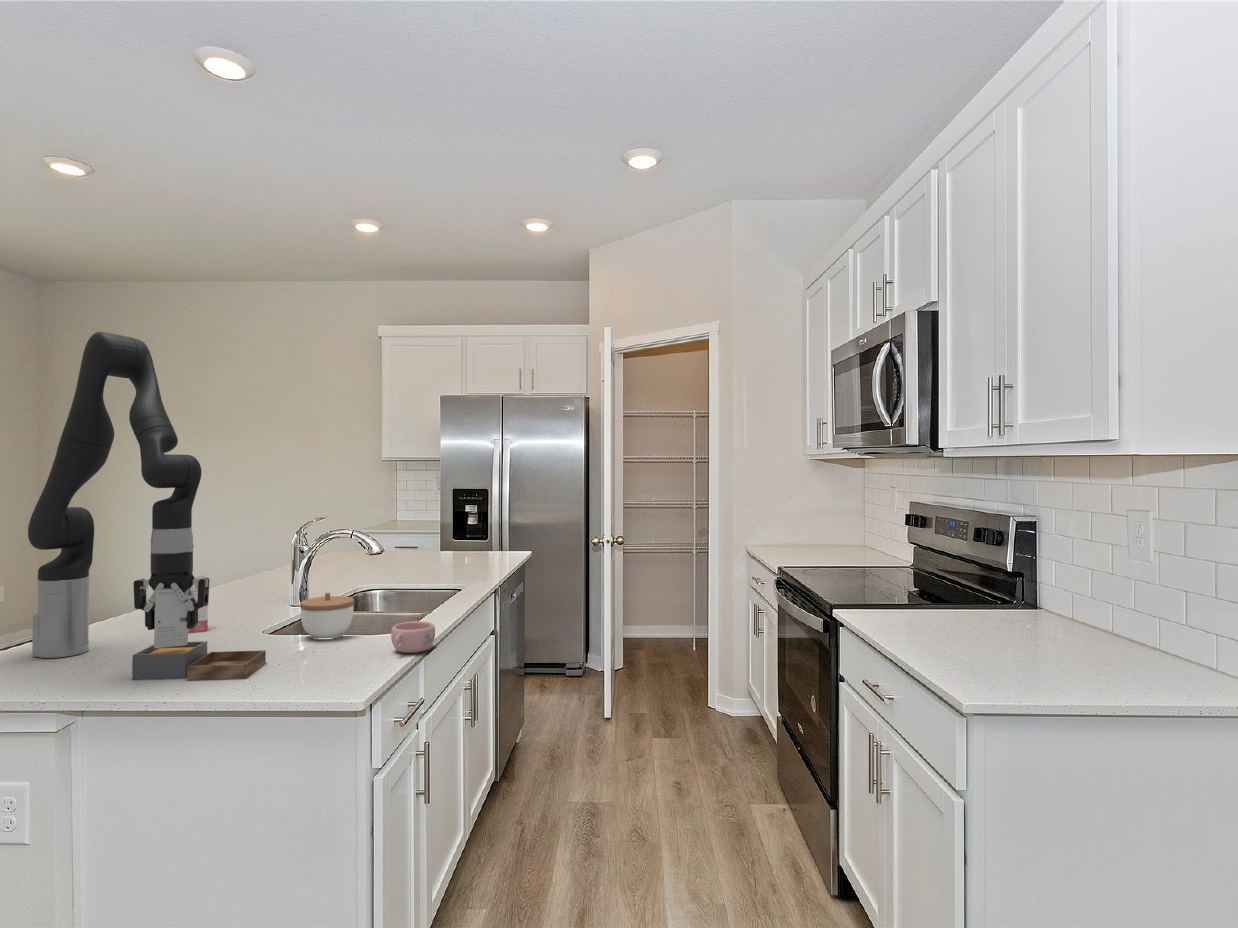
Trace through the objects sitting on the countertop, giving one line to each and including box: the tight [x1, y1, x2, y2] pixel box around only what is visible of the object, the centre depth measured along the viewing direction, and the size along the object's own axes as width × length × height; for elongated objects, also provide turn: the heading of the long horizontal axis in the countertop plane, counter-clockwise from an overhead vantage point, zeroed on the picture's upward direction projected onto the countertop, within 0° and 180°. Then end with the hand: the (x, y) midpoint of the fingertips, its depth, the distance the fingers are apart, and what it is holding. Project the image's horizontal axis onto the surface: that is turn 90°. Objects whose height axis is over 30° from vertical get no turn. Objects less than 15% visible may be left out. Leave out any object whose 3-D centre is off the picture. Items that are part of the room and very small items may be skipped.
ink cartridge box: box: [188, 574, 209, 634], centre depth 184 cm, size 9×5×15 cm, turn 118°
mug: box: [390, 620, 436, 654], centre depth 166 cm, size 12×10×6 cm
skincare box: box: [153, 588, 189, 649], centre depth 148 cm, size 6×4×12 cm
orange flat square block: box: [149, 647, 194, 654], centre depth 148 cm, size 8×8×2 cm
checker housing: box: [131, 640, 208, 681], centre depth 148 cm, size 10×10×5 cm
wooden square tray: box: [186, 649, 267, 681], centre depth 149 cm, size 11×11×3 cm
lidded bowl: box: [299, 592, 355, 641], centre depth 179 cm, size 13×13×11 cm
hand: (171, 628), depth 148 cm, fingers closed on skincare box, 7 cm apart
